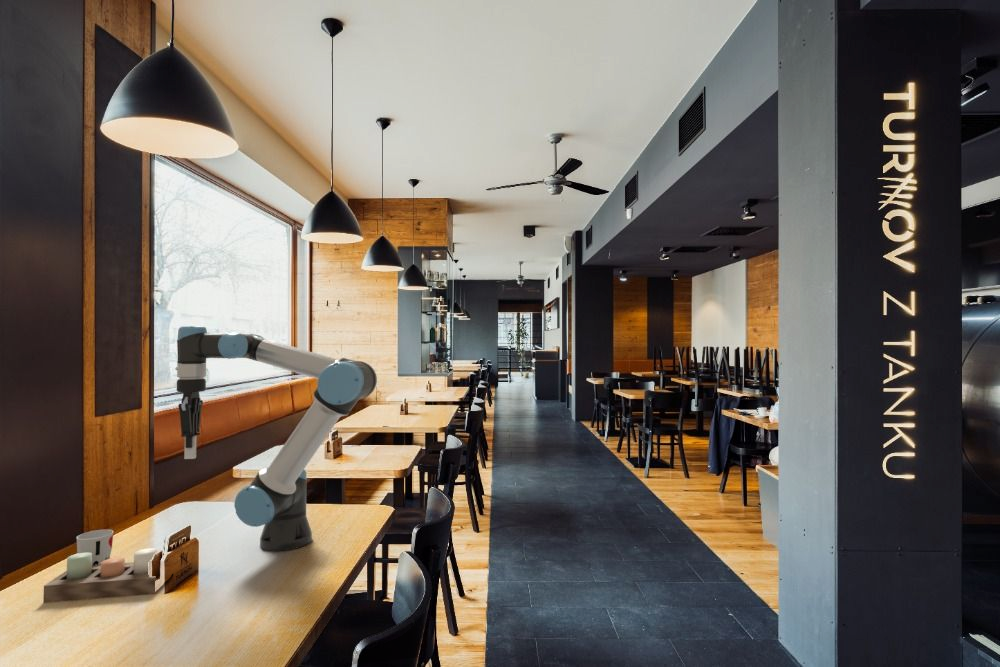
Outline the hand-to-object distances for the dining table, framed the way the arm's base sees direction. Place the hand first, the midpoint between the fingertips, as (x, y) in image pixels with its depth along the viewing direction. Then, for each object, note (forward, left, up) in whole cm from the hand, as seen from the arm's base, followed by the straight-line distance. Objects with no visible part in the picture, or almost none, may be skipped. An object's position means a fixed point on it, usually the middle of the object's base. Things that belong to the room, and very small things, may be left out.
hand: (190, 458), depth 161 cm
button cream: (+4, +20, -25) cm, 32 cm away
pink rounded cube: (+11, +20, -27) cm, 35 cm away
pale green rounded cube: (+19, +20, -25) cm, 37 cm away
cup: (+21, +7, -29) cm, 36 cm away
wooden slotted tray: (+11, +20, -28) cm, 36 cm away
